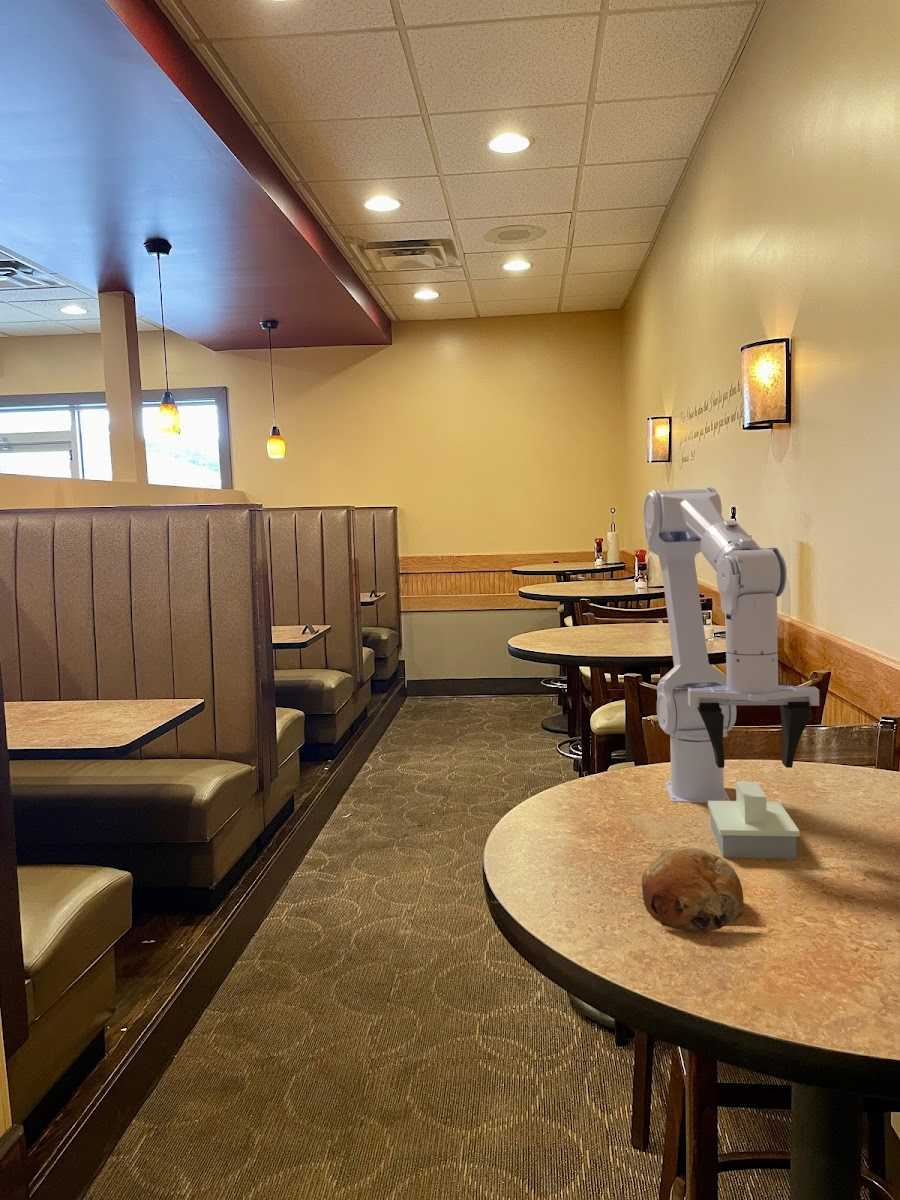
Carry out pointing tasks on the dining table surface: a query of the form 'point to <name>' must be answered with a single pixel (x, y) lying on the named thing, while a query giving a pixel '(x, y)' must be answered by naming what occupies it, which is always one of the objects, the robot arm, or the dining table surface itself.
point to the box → (755, 845)
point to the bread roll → (692, 890)
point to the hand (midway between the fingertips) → (753, 765)
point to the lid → (751, 814)
